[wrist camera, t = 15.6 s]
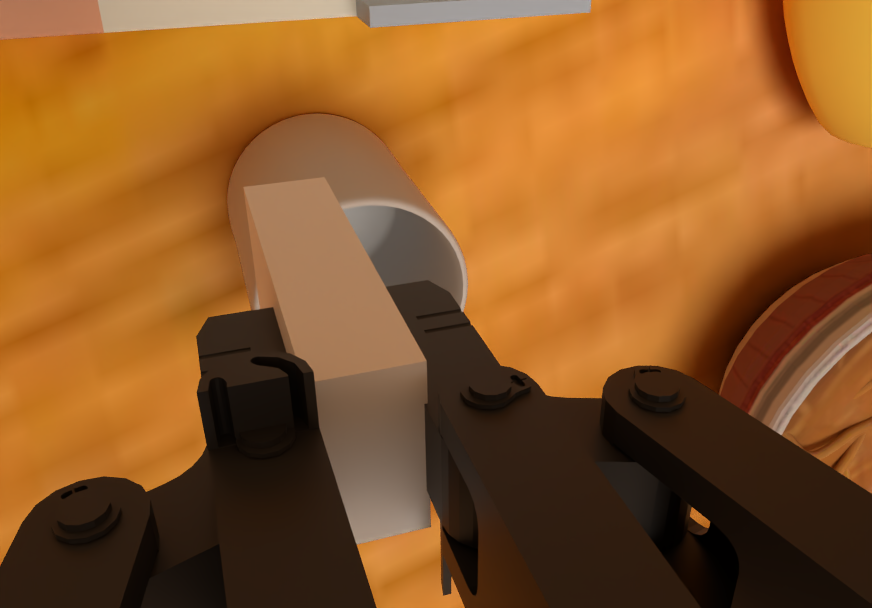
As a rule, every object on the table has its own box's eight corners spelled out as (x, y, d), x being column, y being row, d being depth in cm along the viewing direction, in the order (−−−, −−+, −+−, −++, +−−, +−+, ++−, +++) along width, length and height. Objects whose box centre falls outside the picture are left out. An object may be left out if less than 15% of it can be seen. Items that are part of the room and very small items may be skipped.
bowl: (975, 359, 62) (1104, 440, 54) (725, 536, 64) (812, 642, 55) (913, 123, 50) (1067, 181, 41) (602, 349, 51) (692, 450, 43)
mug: (195, 152, 38) (212, 253, 29) (367, 83, 39) (436, 160, 30) (293, 352, 45) (333, 485, 35) (439, 289, 45) (514, 403, 36)
